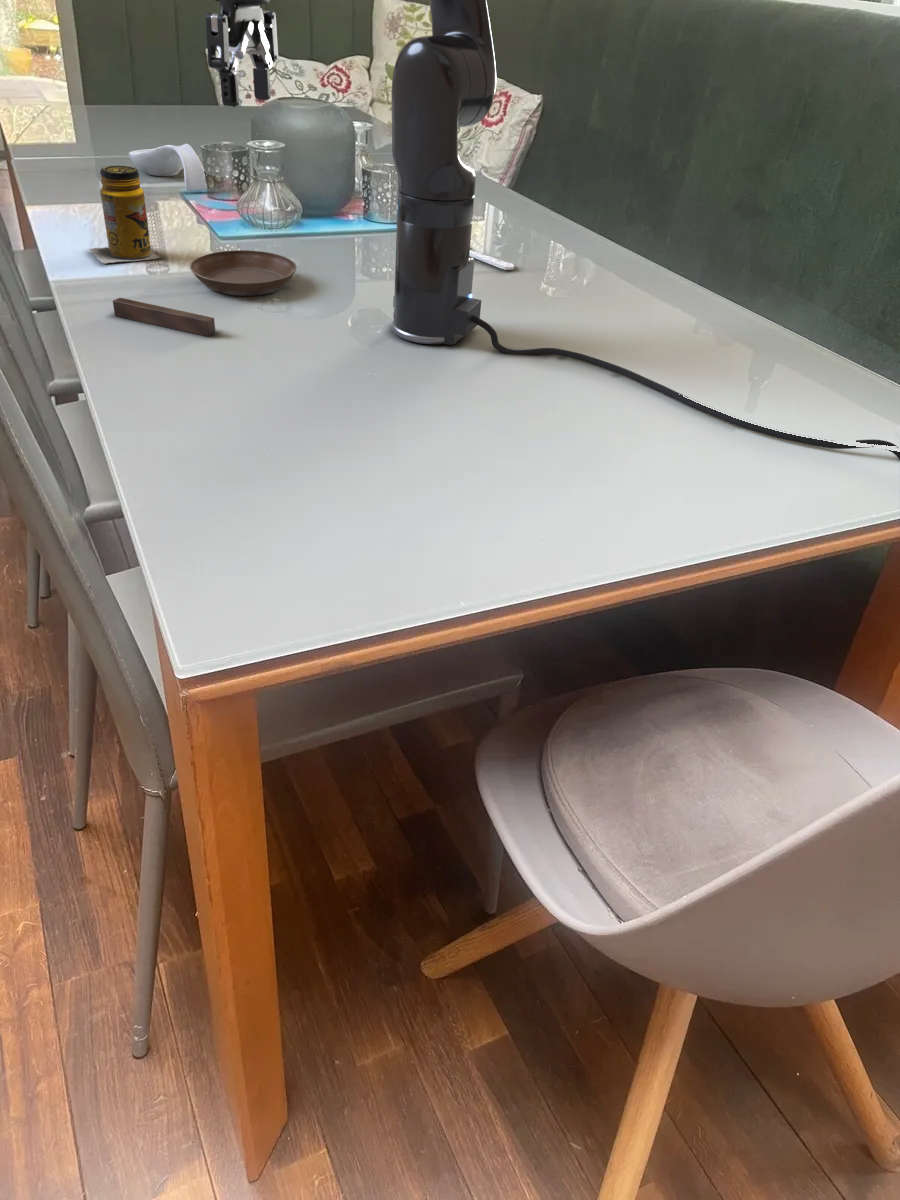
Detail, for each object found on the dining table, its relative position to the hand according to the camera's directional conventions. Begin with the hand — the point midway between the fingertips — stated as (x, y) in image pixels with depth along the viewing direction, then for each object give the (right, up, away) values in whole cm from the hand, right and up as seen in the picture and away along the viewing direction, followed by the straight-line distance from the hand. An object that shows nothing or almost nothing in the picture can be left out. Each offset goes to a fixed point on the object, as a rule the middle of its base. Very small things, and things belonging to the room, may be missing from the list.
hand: (247, 102), depth 122 cm
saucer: (-2, -23, +6) cm, 24 cm away
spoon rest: (-27, +14, +53) cm, 61 cm away
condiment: (-21, -16, +12) cm, 30 cm away
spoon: (+32, -11, +25) cm, 42 cm away
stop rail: (-8, -33, -9) cm, 36 cm away
